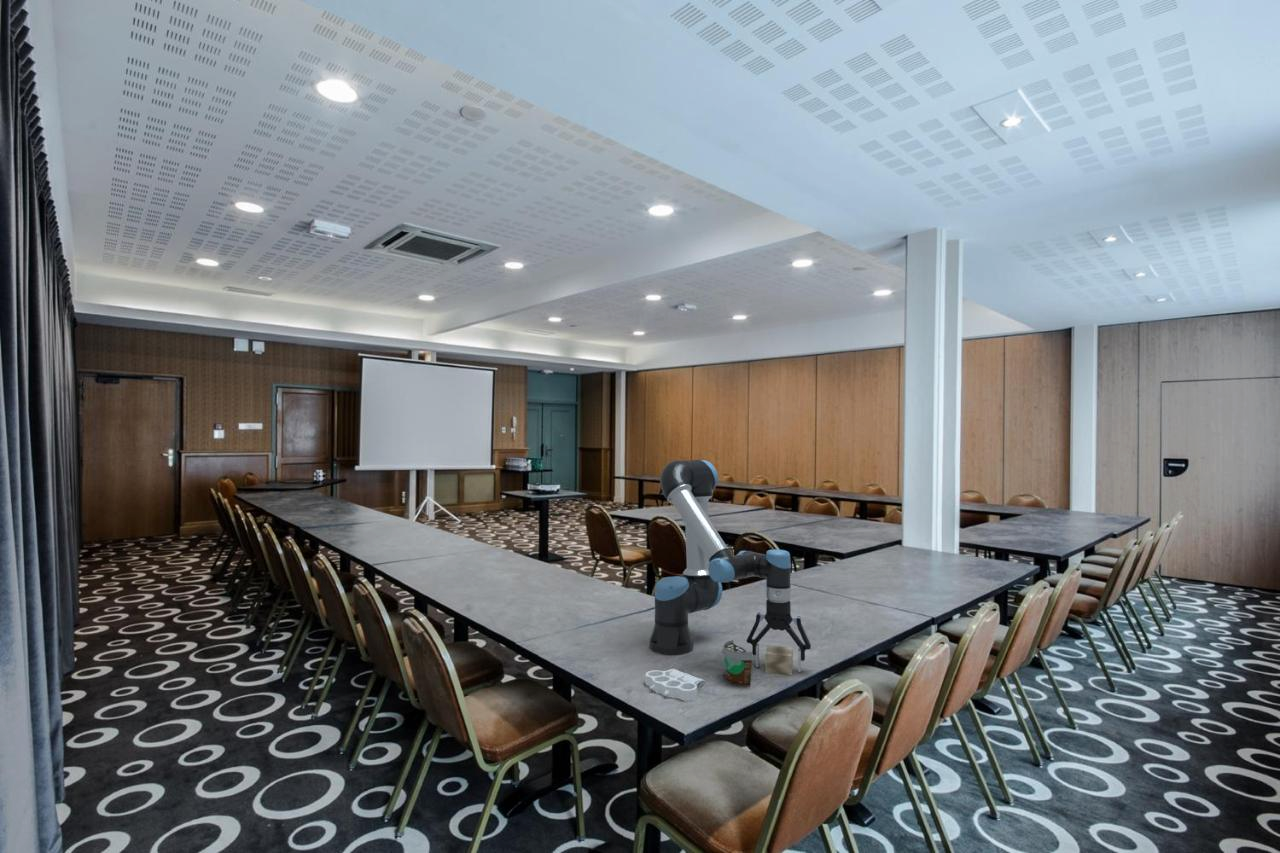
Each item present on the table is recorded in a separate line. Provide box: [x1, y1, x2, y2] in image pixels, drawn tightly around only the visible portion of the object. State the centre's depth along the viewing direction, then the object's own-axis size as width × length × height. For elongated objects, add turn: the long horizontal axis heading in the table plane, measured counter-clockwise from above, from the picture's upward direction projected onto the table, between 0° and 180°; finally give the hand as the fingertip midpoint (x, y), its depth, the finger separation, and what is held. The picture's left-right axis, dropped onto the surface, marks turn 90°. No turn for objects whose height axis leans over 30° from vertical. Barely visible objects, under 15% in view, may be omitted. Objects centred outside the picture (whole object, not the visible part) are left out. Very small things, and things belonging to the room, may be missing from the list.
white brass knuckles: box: [644, 668, 707, 702], centre depth 177 cm, size 3×18×15 cm
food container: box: [721, 639, 754, 687], centre depth 183 cm, size 12×6×10 cm, turn 21°
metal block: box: [764, 644, 794, 676], centre depth 192 cm, size 8×8×6 cm
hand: (778, 668), depth 192 cm, fingers open, 12 cm apart
